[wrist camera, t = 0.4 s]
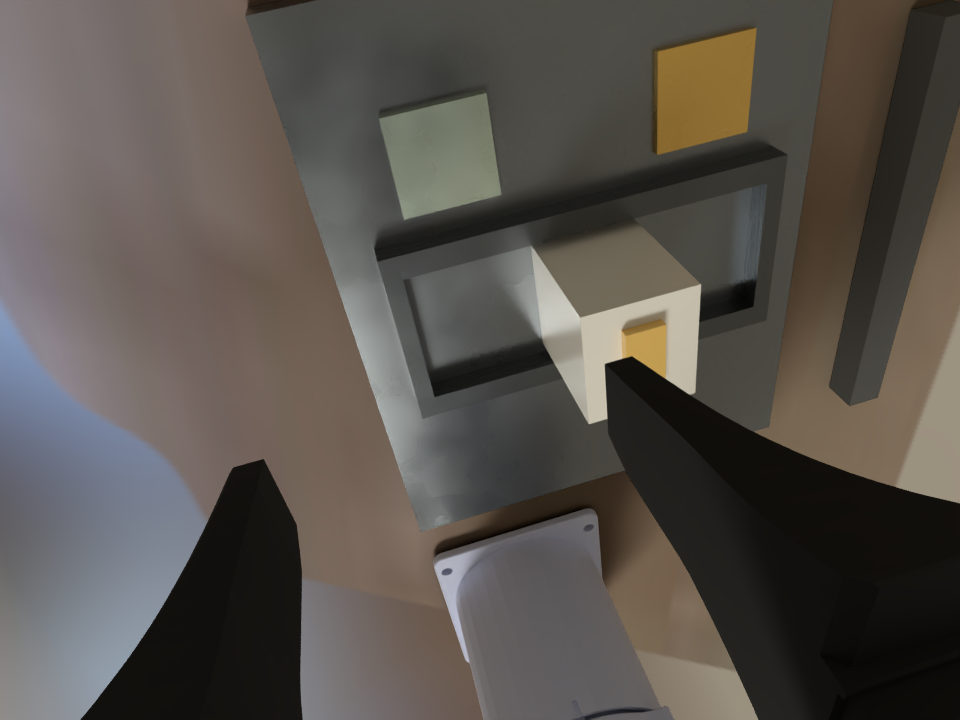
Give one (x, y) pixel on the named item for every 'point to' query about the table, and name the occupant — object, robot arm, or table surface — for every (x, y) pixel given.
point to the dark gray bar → (900, 197)
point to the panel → (540, 202)
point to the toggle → (615, 309)
